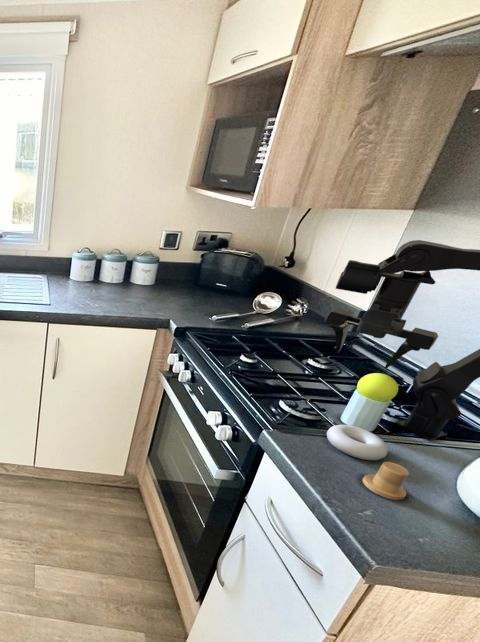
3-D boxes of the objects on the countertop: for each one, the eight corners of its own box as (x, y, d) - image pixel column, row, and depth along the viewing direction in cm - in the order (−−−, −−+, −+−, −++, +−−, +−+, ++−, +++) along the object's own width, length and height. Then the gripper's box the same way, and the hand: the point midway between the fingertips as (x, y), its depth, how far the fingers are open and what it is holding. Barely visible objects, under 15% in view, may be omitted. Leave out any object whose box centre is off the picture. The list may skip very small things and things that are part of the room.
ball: (372, 375, 97) (377, 362, 92) (404, 394, 92) (409, 382, 88) (347, 392, 98) (350, 381, 93) (377, 412, 93) (381, 401, 89)
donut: (395, 466, 84) (359, 435, 93) (404, 453, 83) (367, 423, 92) (344, 461, 85) (313, 431, 94) (352, 449, 84) (319, 419, 92)
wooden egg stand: (375, 474, 82) (387, 454, 80) (412, 496, 77) (426, 476, 74) (354, 480, 80) (366, 460, 78) (391, 503, 75) (405, 482, 73)
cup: (351, 414, 101) (366, 386, 97) (380, 429, 96) (397, 400, 92) (334, 418, 99) (349, 390, 96) (362, 433, 94) (379, 404, 90)
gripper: (330, 293, 94) (303, 353, 101) (445, 319, 81) (405, 386, 88) (345, 285, 100) (318, 343, 107) (455, 308, 87) (416, 372, 94)
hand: (360, 360), depth 99 cm, fingers open, 9 cm apart
